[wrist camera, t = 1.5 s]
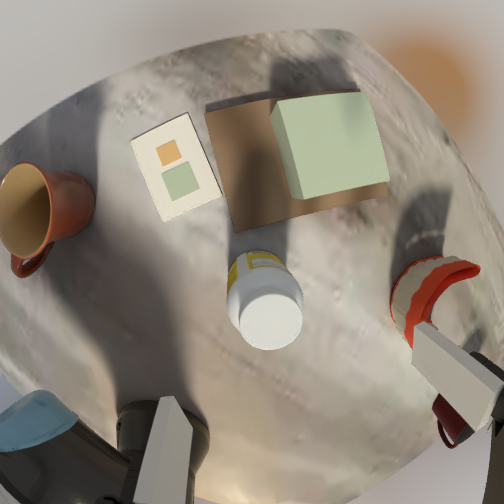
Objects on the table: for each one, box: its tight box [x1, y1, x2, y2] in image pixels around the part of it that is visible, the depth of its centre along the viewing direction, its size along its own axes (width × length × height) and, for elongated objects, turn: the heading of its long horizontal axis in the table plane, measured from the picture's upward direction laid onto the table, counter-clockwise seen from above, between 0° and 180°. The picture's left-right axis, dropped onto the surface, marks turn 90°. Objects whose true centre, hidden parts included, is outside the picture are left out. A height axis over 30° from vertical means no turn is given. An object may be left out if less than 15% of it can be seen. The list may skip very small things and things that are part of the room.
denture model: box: [390, 256, 480, 349], centre depth 29 cm, size 12×10×8 cm
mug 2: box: [432, 394, 475, 449], centre depth 34 cm, size 12×9×11 cm
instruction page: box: [130, 113, 222, 222], centre depth 27 cm, size 7×10×1 cm
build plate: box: [204, 89, 388, 233], centre depth 27 cm, size 18×13×1 cm
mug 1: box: [0, 162, 95, 278], centre depth 22 cm, size 12×9×10 cm
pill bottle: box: [227, 250, 303, 350], centre depth 25 cm, size 6×6×12 cm
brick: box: [270, 92, 390, 199], centre depth 24 cm, size 9×9×5 cm
